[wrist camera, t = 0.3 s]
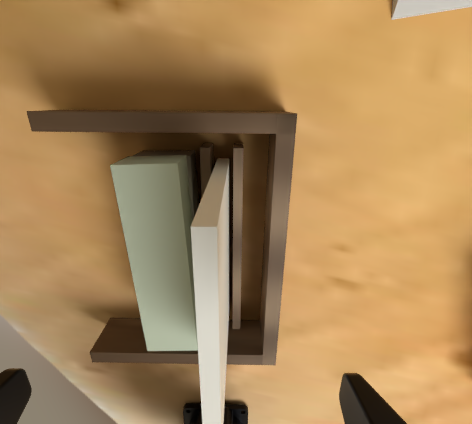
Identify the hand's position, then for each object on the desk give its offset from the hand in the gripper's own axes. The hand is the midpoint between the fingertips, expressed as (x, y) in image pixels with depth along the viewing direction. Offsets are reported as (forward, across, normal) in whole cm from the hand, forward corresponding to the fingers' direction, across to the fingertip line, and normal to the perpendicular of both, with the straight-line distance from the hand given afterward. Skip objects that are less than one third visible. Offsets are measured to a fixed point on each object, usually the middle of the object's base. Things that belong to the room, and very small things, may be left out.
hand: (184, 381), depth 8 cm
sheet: (+13, 0, +2) cm, 13 cm away
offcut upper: (+11, +3, +2) cm, 12 cm away
